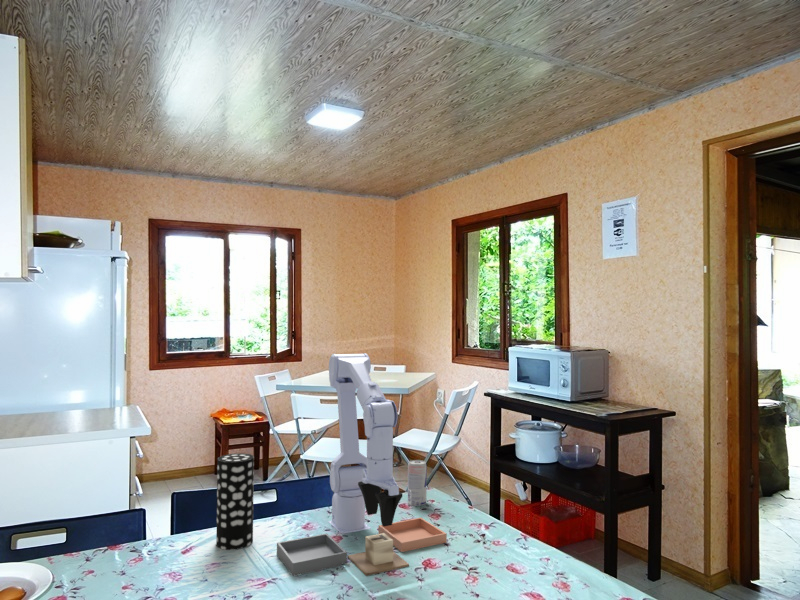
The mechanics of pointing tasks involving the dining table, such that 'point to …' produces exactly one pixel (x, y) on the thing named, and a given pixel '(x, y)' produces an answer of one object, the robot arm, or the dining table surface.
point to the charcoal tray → (311, 554)
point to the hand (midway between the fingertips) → (379, 519)
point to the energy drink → (417, 482)
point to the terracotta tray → (413, 534)
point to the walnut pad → (374, 569)
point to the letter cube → (379, 549)
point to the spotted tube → (235, 501)
